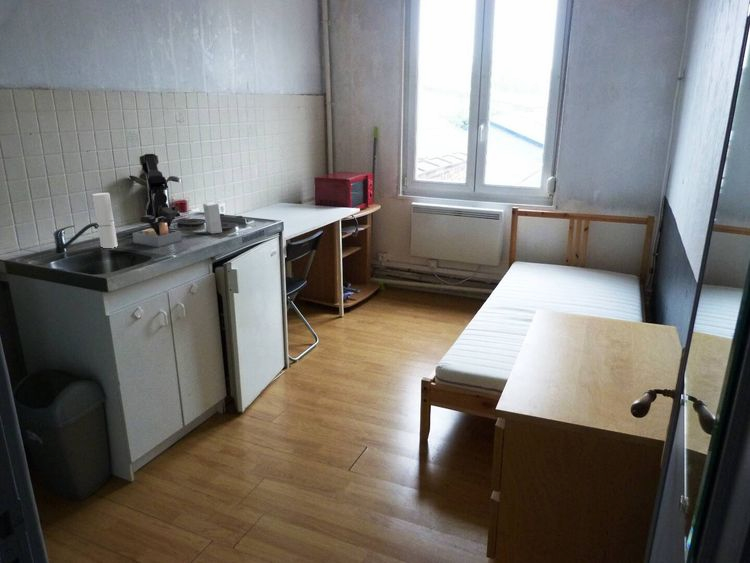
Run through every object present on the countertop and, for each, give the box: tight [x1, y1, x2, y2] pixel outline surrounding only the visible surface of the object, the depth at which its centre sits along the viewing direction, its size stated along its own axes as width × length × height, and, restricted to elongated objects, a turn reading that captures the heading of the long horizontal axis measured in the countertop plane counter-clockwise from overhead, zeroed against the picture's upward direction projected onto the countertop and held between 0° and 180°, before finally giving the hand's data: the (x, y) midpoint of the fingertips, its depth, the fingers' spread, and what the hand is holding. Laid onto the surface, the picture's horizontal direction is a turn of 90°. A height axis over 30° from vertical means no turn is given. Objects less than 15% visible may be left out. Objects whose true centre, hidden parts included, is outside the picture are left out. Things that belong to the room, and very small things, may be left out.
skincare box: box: [202, 201, 223, 234], centre depth 291 cm, size 8×6×15 cm
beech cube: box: [141, 228, 158, 236], centre depth 274 cm, size 5×5×5 cm
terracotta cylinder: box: [158, 221, 169, 236], centre depth 269 cm, size 5×5×7 cm
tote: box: [132, 228, 182, 248], centre depth 272 cm, size 18×14×5 cm
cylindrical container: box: [91, 192, 118, 249], centre depth 262 cm, size 7×7×25 cm
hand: (163, 234), depth 270 cm, fingers closed on terracotta cylinder, 5 cm apart
